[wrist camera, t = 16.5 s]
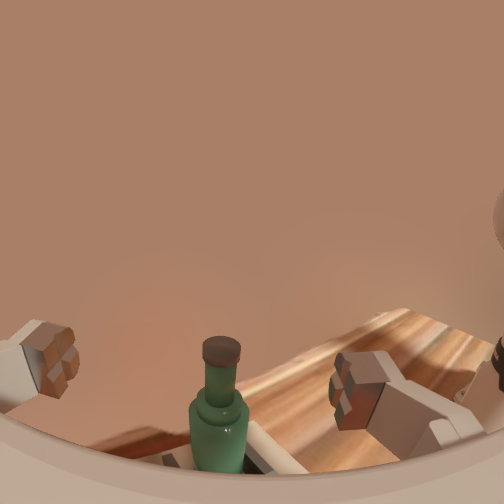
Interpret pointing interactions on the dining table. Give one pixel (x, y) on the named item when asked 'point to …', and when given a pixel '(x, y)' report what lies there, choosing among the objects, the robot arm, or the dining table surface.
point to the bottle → (219, 411)
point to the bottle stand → (255, 458)
